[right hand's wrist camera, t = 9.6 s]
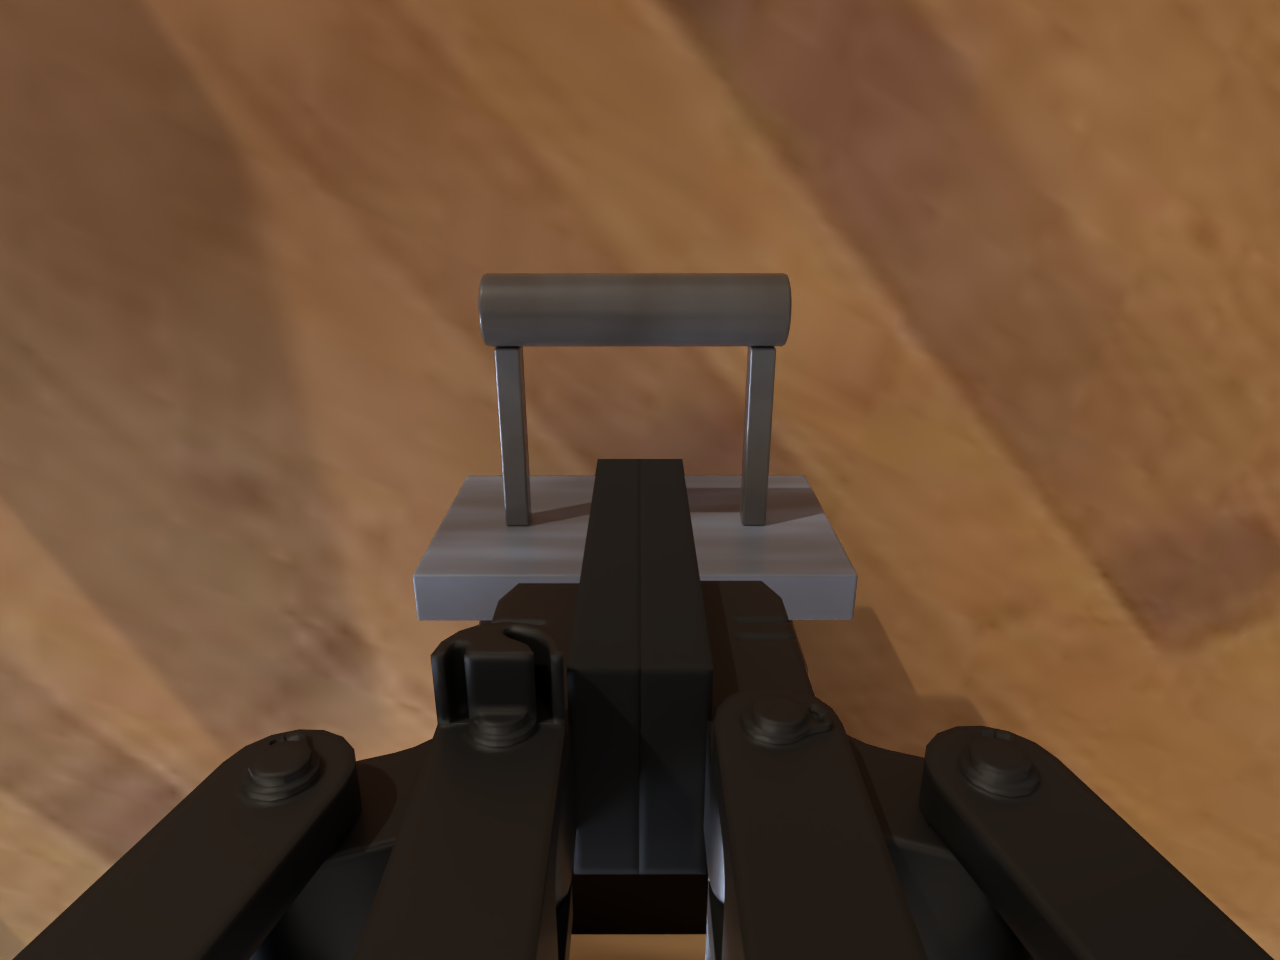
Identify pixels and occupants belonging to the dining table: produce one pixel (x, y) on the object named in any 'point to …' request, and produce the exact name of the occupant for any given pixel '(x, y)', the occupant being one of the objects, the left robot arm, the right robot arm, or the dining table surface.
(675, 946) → the cabinet
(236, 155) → the dining table surface
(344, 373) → the dining table surface
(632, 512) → the right robot arm
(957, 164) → the dining table surface
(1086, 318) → the dining table surface
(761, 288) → the drawer
